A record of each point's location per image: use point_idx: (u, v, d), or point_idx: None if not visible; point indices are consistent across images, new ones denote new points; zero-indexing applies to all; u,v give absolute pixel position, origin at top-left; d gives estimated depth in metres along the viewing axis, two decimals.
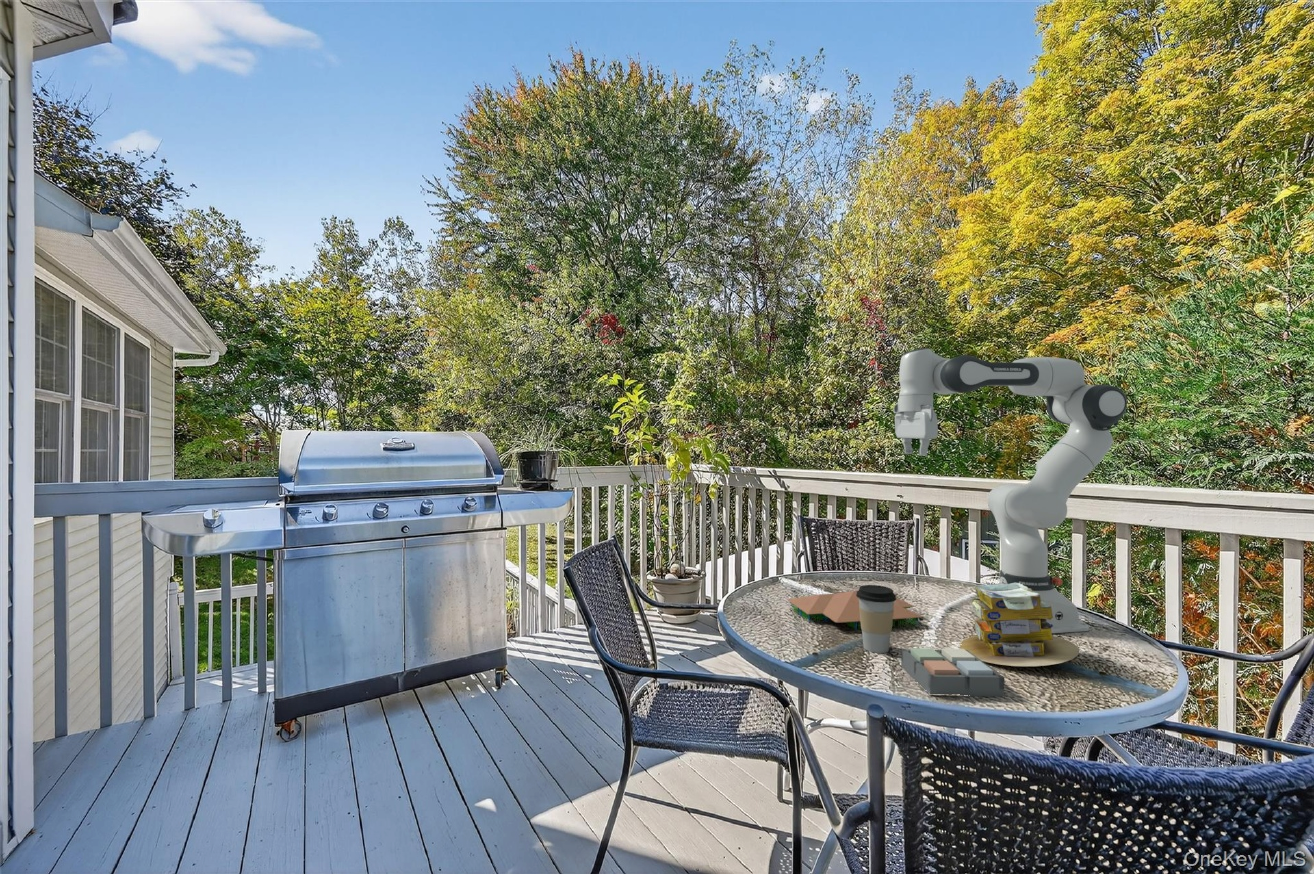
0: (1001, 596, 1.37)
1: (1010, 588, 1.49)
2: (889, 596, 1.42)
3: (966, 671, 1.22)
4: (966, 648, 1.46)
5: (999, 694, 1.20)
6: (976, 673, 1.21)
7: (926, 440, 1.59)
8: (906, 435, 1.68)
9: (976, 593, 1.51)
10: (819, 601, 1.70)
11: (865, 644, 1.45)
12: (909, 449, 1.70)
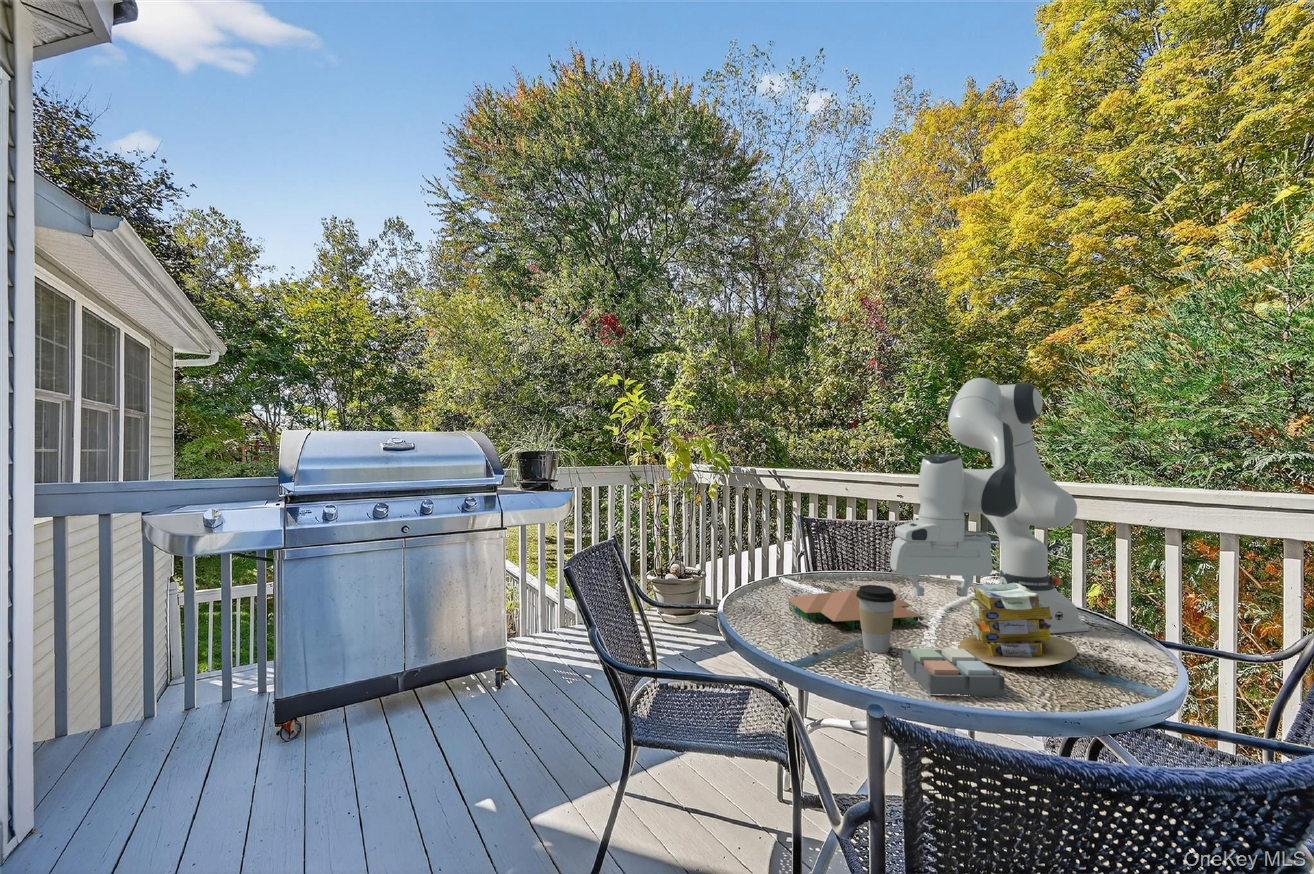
0: (999, 596, 1.37)
1: (1008, 588, 1.49)
2: (889, 596, 1.42)
3: (966, 671, 1.22)
4: (964, 648, 1.46)
5: (999, 694, 1.20)
6: (976, 673, 1.21)
7: None
8: (935, 571, 1.22)
9: None
10: (817, 600, 1.71)
11: (865, 644, 1.45)
12: None
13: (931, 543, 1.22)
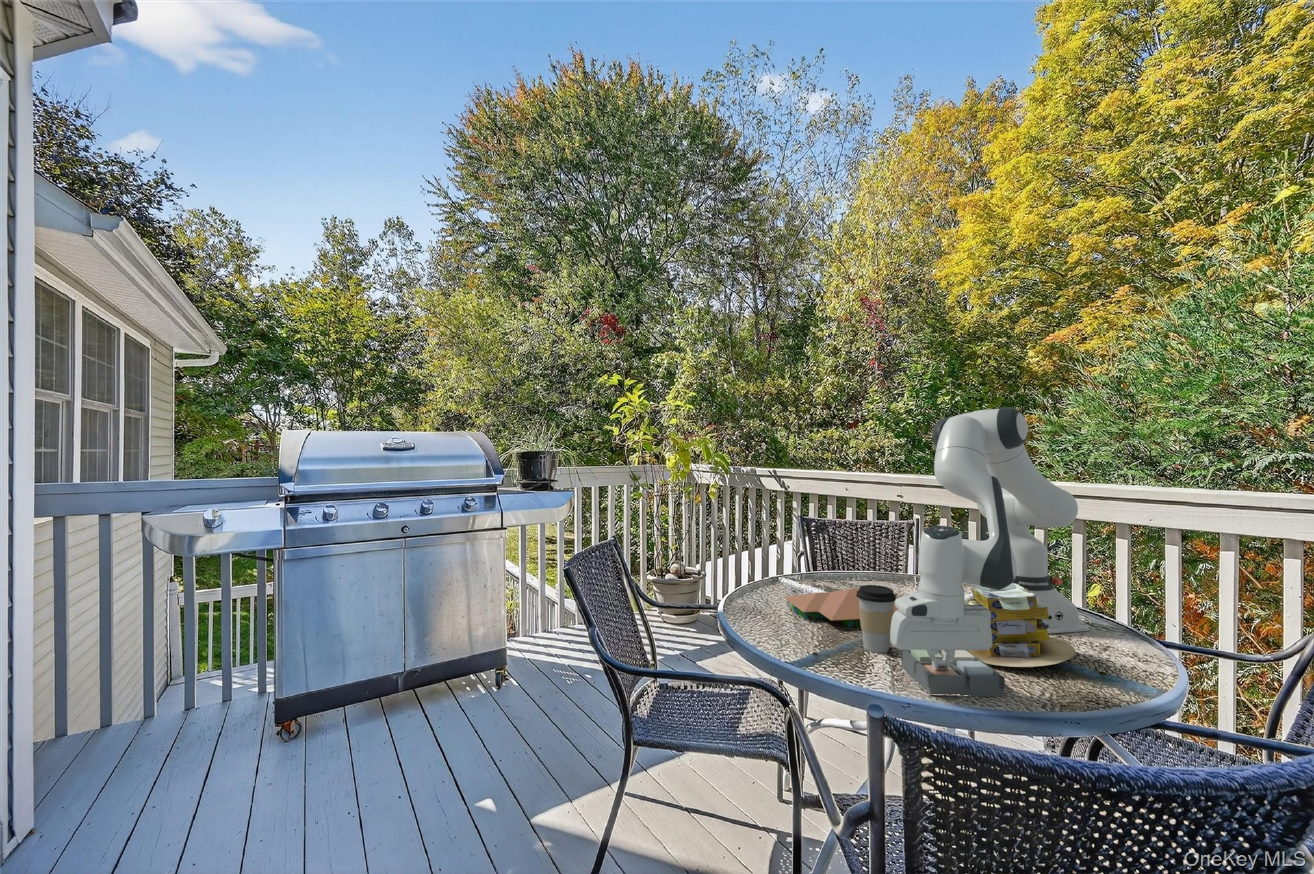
0: (997, 596, 1.37)
1: (1006, 588, 1.49)
2: (889, 596, 1.42)
3: (966, 671, 1.22)
4: None
5: (999, 694, 1.20)
6: (976, 673, 1.21)
7: None
8: (935, 646, 1.22)
9: (972, 593, 1.50)
10: (815, 599, 1.72)
11: (865, 644, 1.45)
12: None
13: (931, 618, 1.22)
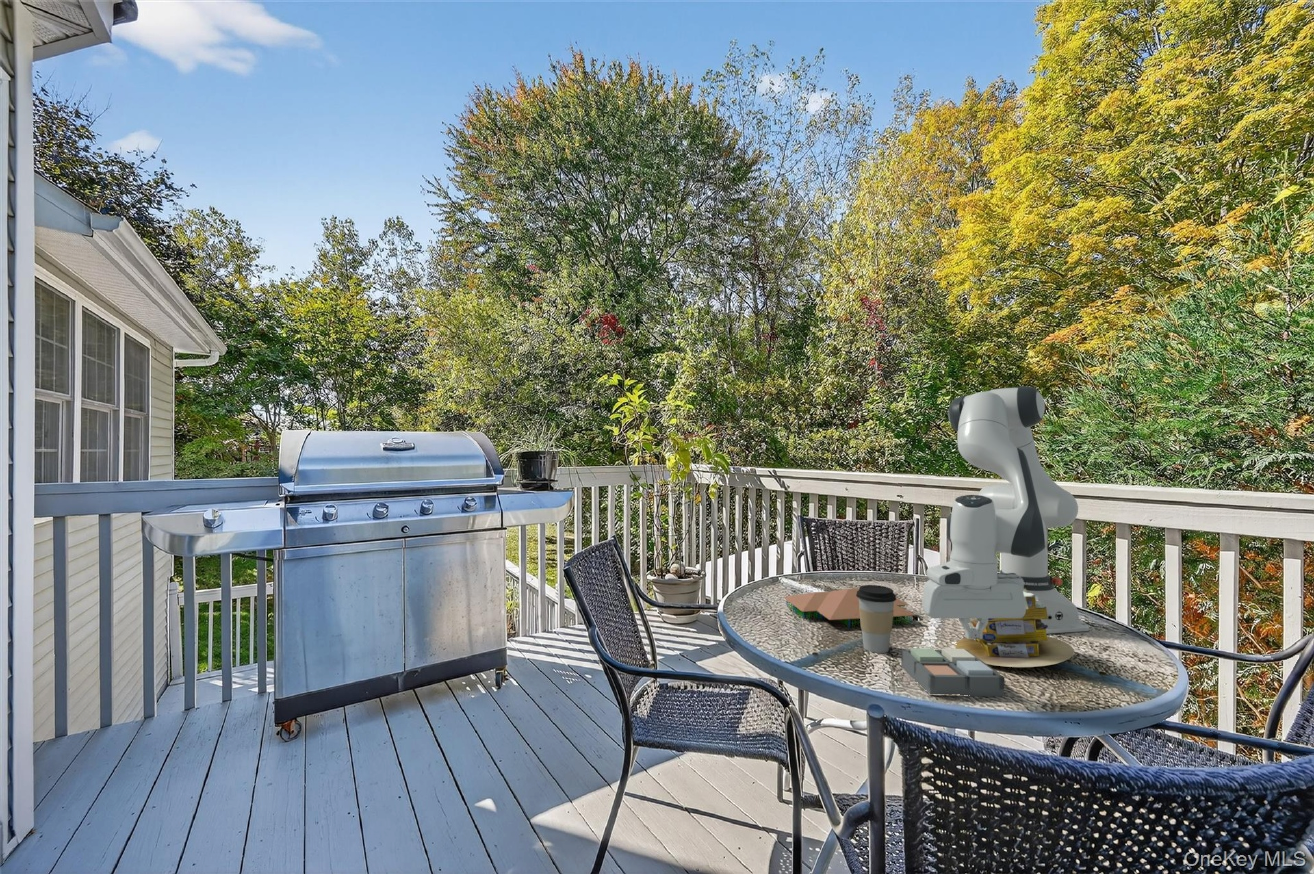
0: None
1: None
2: (889, 596, 1.42)
3: (966, 671, 1.22)
4: None
5: (999, 694, 1.20)
6: (976, 673, 1.21)
7: None
8: (968, 615, 1.22)
9: None
10: (814, 599, 1.72)
11: (865, 644, 1.45)
12: None
13: (964, 586, 1.22)
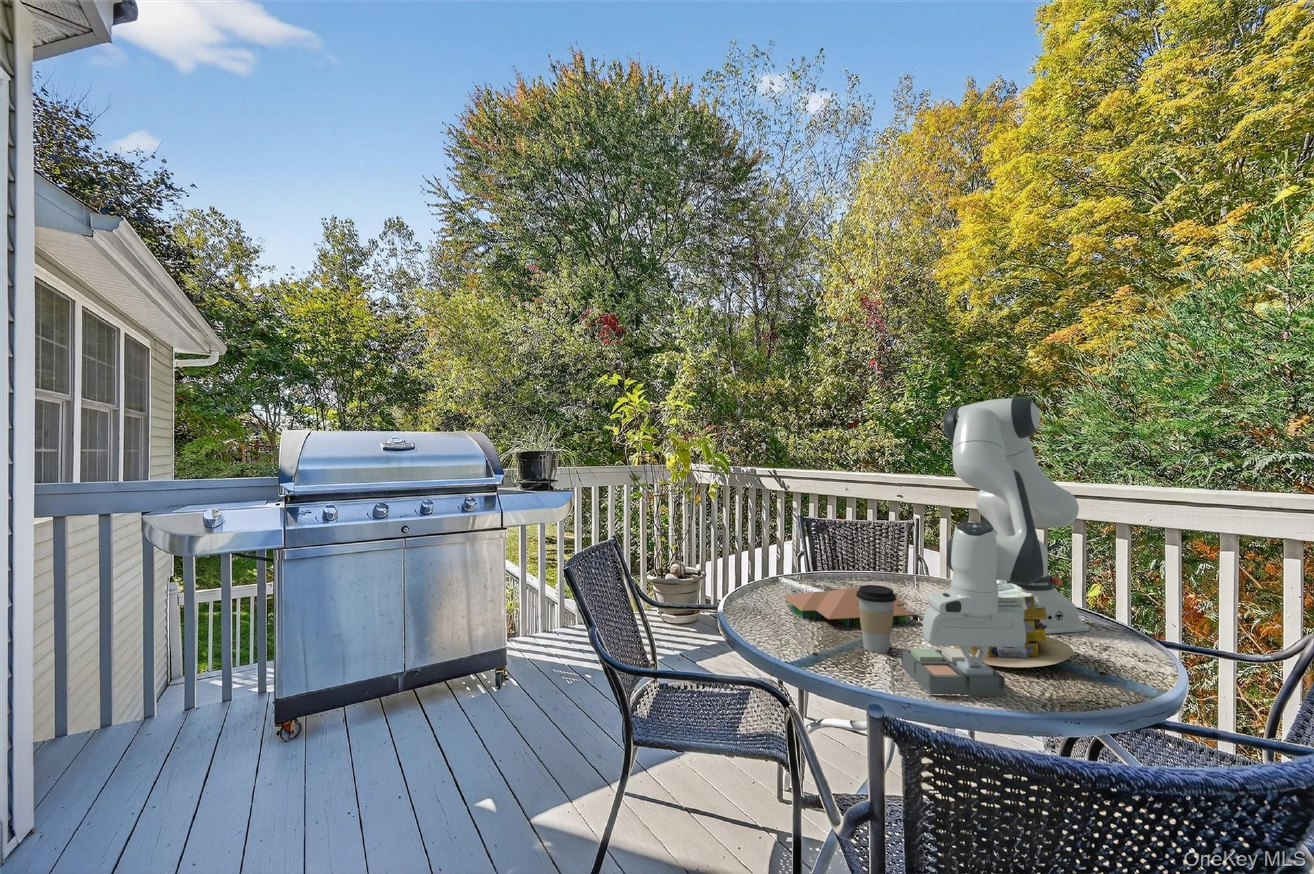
0: None
1: (1004, 589, 1.49)
2: (889, 596, 1.42)
3: (966, 672, 1.22)
4: None
5: (999, 694, 1.20)
6: (976, 674, 1.21)
7: None
8: (969, 643, 1.22)
9: None
10: (813, 598, 1.73)
11: (865, 644, 1.45)
12: None
13: (965, 614, 1.22)
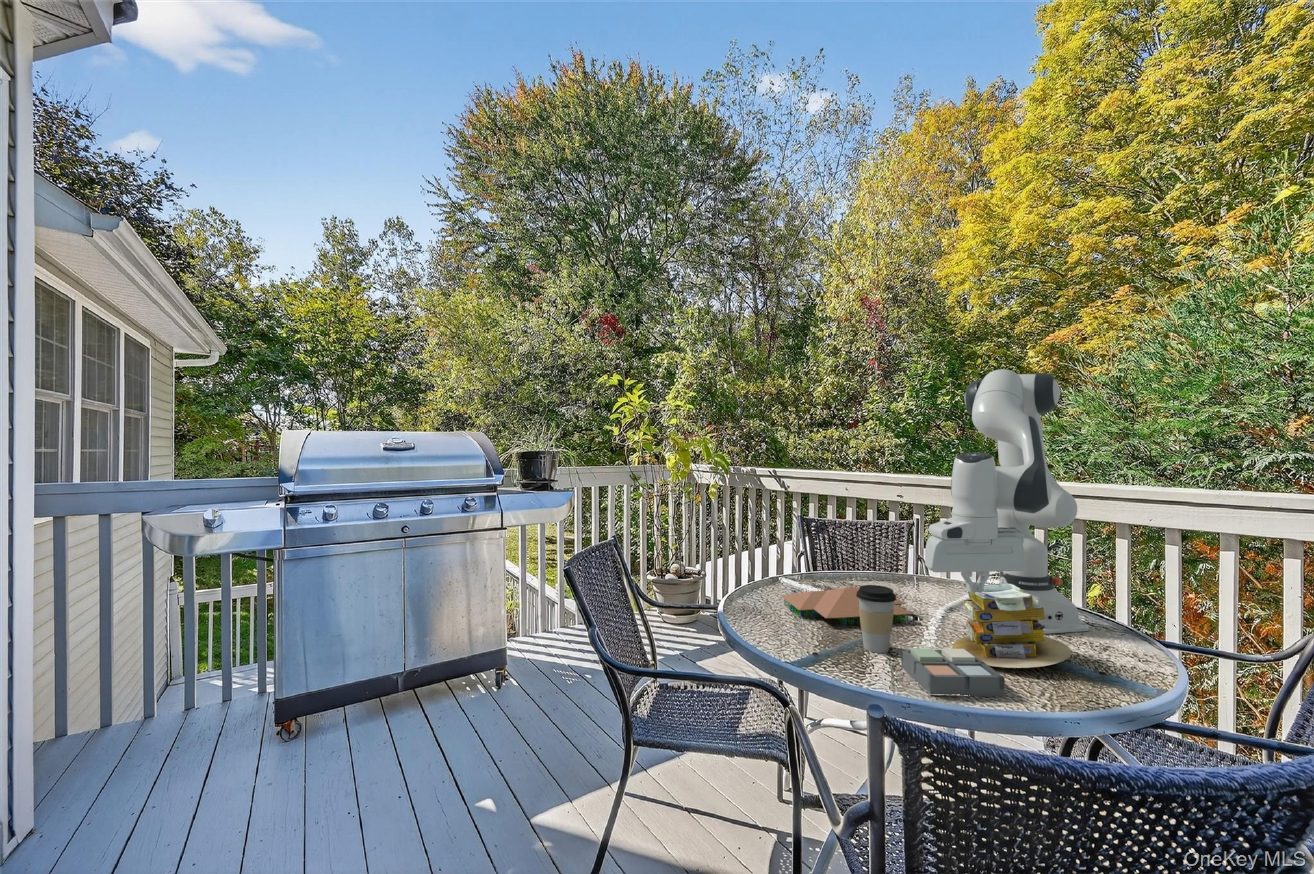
0: (993, 597, 1.36)
1: (1002, 589, 1.48)
2: (889, 596, 1.42)
3: None
4: None
5: (999, 694, 1.20)
6: None
7: None
8: (970, 568, 1.25)
9: None
10: (811, 598, 1.74)
11: (865, 644, 1.45)
12: None
13: (966, 541, 1.24)
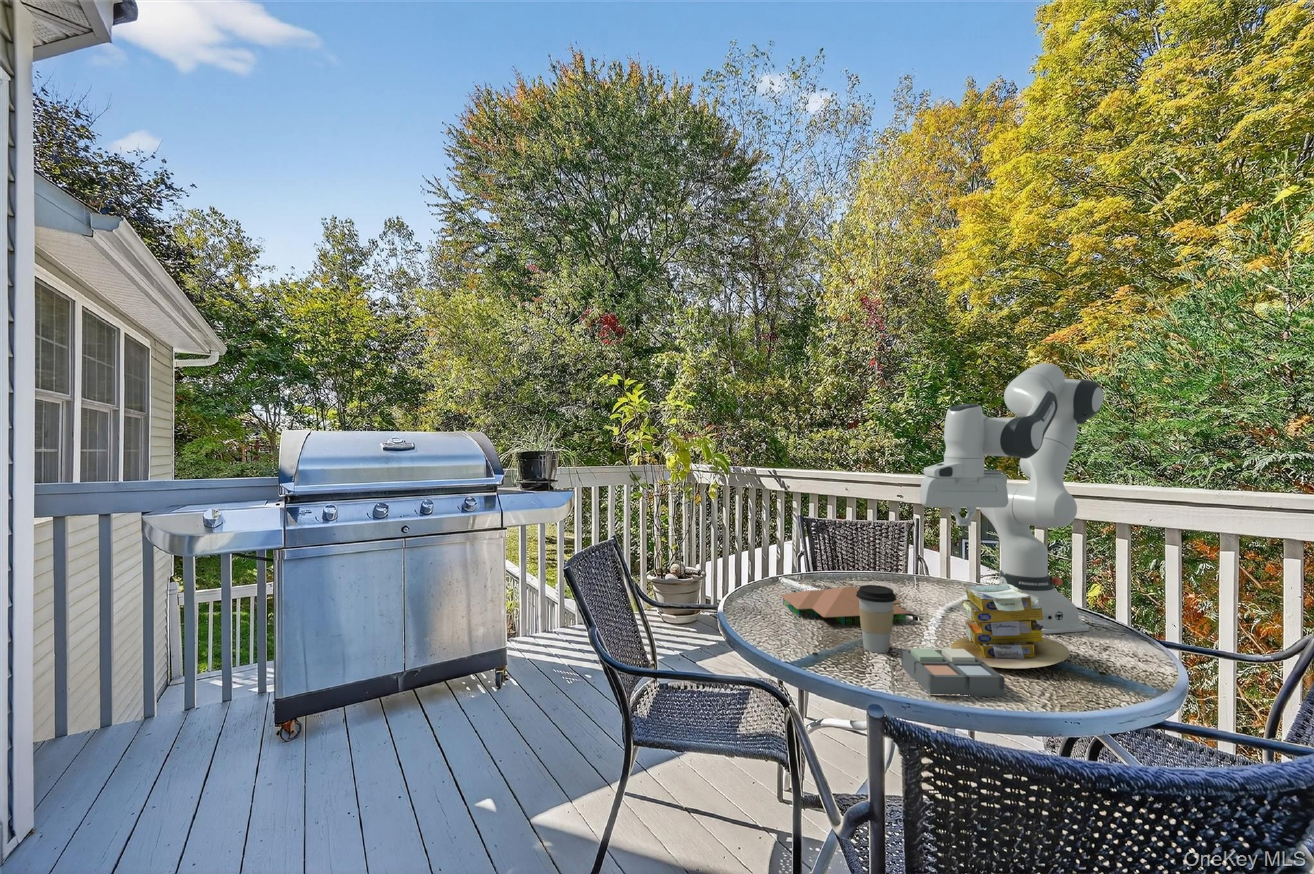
0: (991, 597, 1.36)
1: (1000, 589, 1.48)
2: (889, 596, 1.42)
3: None
4: None
5: (999, 694, 1.20)
6: None
7: None
8: (959, 504, 1.42)
9: None
10: (810, 597, 1.75)
11: (865, 644, 1.45)
12: None
13: (956, 479, 1.42)
